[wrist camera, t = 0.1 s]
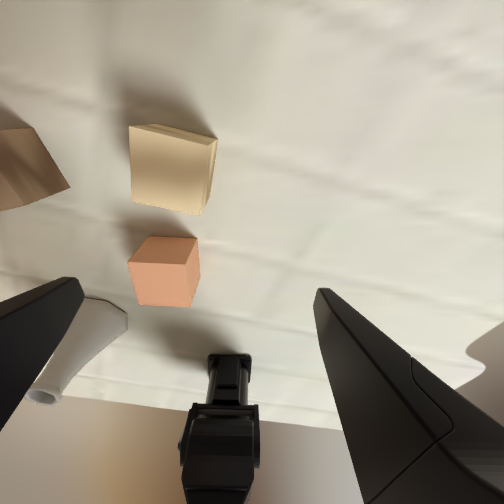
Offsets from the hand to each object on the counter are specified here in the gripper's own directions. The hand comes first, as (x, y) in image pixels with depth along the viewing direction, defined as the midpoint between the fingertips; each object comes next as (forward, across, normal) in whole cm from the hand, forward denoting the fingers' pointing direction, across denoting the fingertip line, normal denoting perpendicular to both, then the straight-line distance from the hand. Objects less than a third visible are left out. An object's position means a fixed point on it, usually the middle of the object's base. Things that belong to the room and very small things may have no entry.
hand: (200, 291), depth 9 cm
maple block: (+15, +4, -2) cm, 15 cm away
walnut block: (+15, +18, -1) cm, 23 cm away
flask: (+15, +17, +18) cm, 29 cm away
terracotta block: (+15, +6, +8) cm, 18 cm away
